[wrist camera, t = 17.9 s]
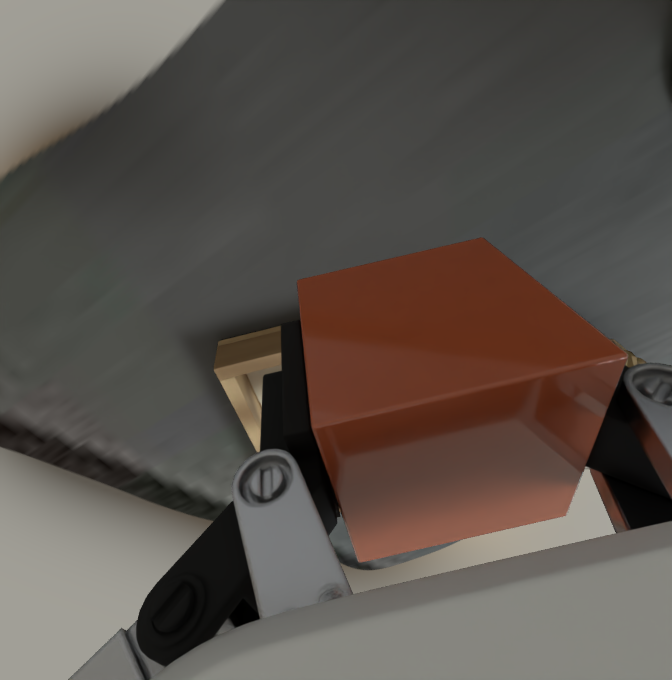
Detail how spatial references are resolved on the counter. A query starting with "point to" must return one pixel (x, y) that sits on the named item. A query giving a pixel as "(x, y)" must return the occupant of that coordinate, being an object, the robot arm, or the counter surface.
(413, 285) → the clay block
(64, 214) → the counter surface
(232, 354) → the tray
